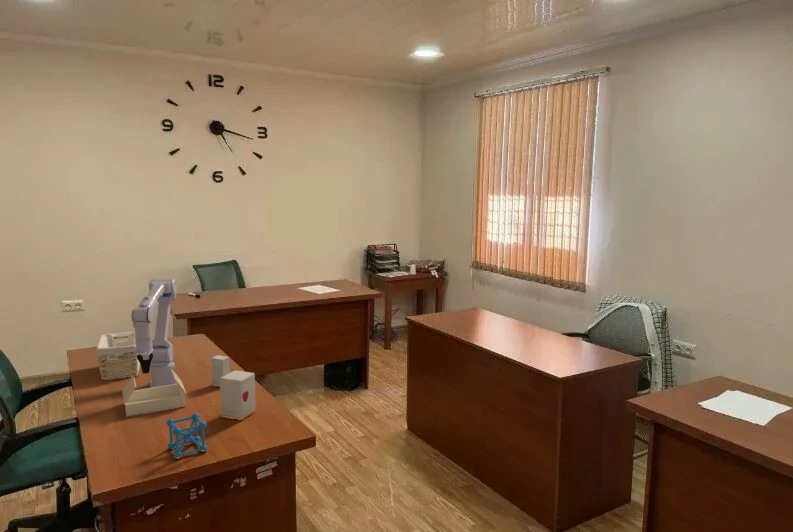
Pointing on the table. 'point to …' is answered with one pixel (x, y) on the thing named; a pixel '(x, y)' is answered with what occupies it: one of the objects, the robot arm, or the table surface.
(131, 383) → the carton flap
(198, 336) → the table surface
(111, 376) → the storage basket
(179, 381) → the carton flap
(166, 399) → the carton
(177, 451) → the molecular structure
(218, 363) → the skincare box
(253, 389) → the supplement box
